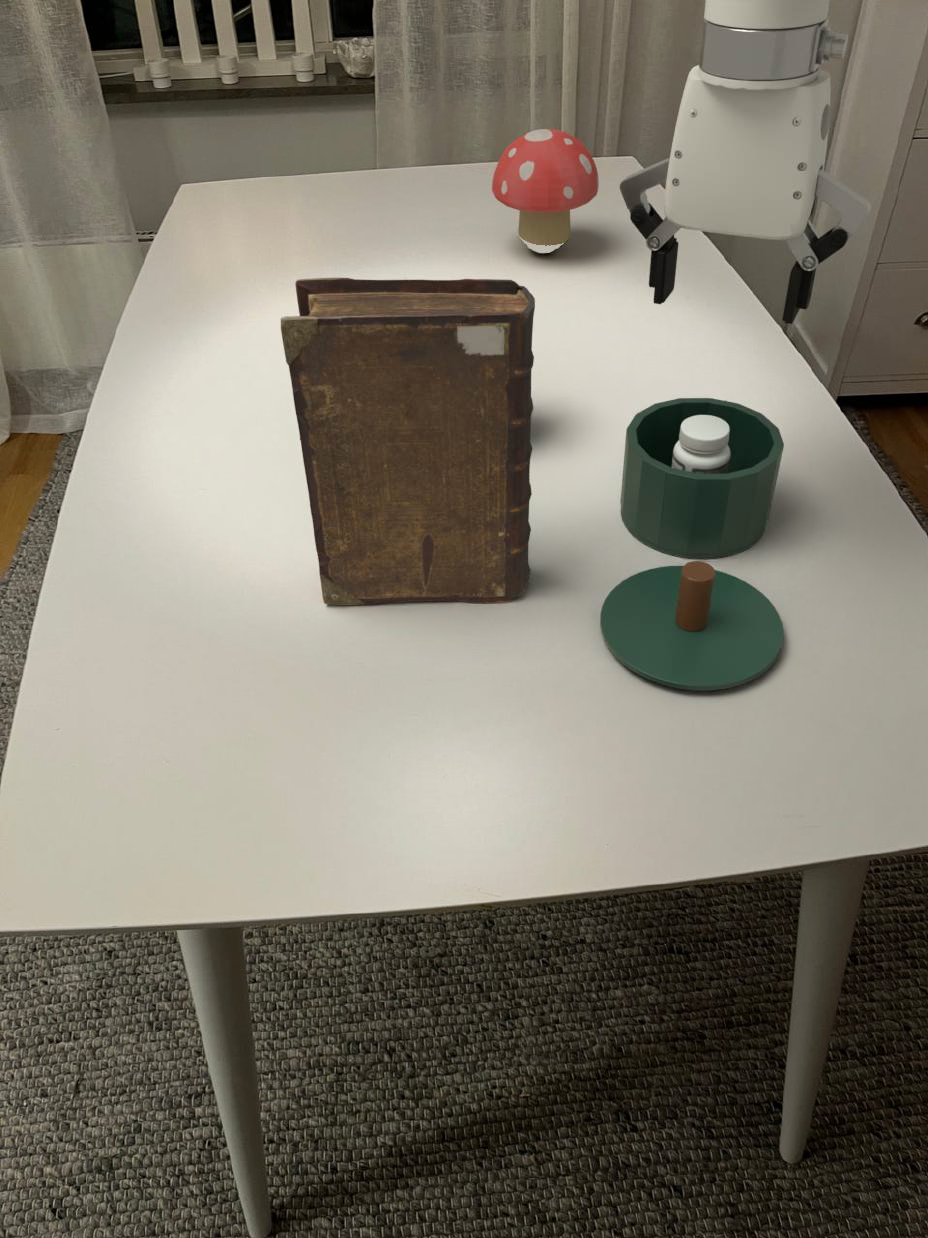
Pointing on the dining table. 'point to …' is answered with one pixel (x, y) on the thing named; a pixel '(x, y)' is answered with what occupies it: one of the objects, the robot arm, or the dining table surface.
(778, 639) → the tin lid
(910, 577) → the dining table surface
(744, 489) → the tin
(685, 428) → the pill bottle
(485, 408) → the book
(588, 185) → the decorative mushroom
